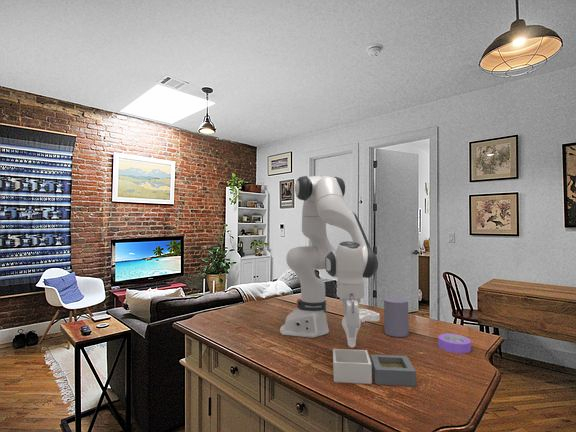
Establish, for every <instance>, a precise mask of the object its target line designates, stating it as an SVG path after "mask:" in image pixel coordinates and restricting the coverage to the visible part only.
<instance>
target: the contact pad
mask: <svg viewBox="0 0 576 432" xmlns="http://www.w3.org/2000/svg"><path fill="white" fill-rule="evenodd" d="M380 365H381V367H390V368H403V367H402V365H401V364H395V363H380Z"/></svg>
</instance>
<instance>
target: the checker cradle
mask: <svg viewBox="0 0 576 432" xmlns="http://www.w3.org/2000/svg"><path fill="white" fill-rule="evenodd" d="M370 361H371V364H372V376H373V377H372V378H373V380H374V383H375V385H381V386H403V387H417V370H416V369H415V368H414V367H415V366H413V364H412V362H411V361H410V359H409V357H408V355H397V354H395V355H393V354H392V355H391V354H390V355H389V354H370ZM380 363H395V364H401V365H402V367H403V368H390V367H381V365H380Z"/></svg>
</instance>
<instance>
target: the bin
mask: <svg viewBox="0 0 576 432" xmlns="http://www.w3.org/2000/svg"><path fill="white" fill-rule="evenodd" d="M332 373H333V382H334V383H343V384H344V383H345V384H346V383H347V384H365V385H366V384H368V385H371V384H372V383H373V382H372V381H373V377H372V376H373V374H372V364H371V357H370V355H369V351H368V350H367V349H352V348H351V349H348V348H347V349H346V348H332Z"/></svg>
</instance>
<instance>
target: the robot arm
mask: <svg viewBox="0 0 576 432" xmlns="http://www.w3.org/2000/svg"><path fill="white" fill-rule="evenodd" d="M294 193H295V196H296V198H298V200H300V201H303V202H302V203H303V204H302V210H301V211H302V212H301V216H302V217H301V232H302V235H303V236H305V237H306V238H308V239H310V242H311V245H309V246H297V247H293V248H290V249H289V250H288V252H287V253H286V264H287V266H288V268H290V270H291V271H293V272H294V274H296V275H297V277H298V280H299V285H300V293H301V294H300V295H301V296H300V297H301V298H297V299H296V308H295V309H294V310H292V311H291V312H290V313H289V314H287V316H286V318H285V321H284V324H282V325H281V326H280V328H279V332H280V334H281V335H282V336H284V335H285V336H292V337H293V336H294V337H301V338H302V337H303V338H313V339H314V338H316V337H321V336H323V335H327V334H329V332H330V329H329V326H328V320H327V319H328V318H327V314H326V313H327V312H328V311H327V300H326V284H325V282H324V280H322V279H321V278H319V277H317V276H316V272H315V271H316V270H325V272H326V273H327V274H328V275H329V276H330V277H334V278H337V279H336V296H337V298H339V299H340V301H341V303H342V307H343V308H342V309H343V313H344V316H345V318H346V323H347V327H348V328H349V337H350V338H354V337H355V328H359V307H360V305H359V304H360V303H361V299H364V298H365V279H368V278H371V277H373V276H374V274H375V273H376V272H377V271H378V268H379V261H378V257H377V255H376V254H375V252H374V251H373V249H372V247H371V245H370V243H369V240H368V238H367V236H366V234H365V230H364V228H363V227H362V223H361V222H360V220H359V218H358V216H357V214H356V213H355V212H353V211H352V210H351V209H350V208H349V207H348V205H347V203H346V202H345V199H344V196H345V194H346V184H345V180H343V178H341V177H338V176H328V175H313V176H310V175H309V176H307V175H304V176H299V177H298V178H297V179H296V181H295V184H294ZM327 224H328V225H330V226H333V227H338V228H340V229H342V230H343V231H346V232H347V233H348V234H349V235H350V237H351V239H352V241H342V242H339V243H338V244H337V248H336V247H334V246H333V245H332V244H331V242H330V240H329V238H328V235H327ZM359 329H360V328H359Z"/></svg>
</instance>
